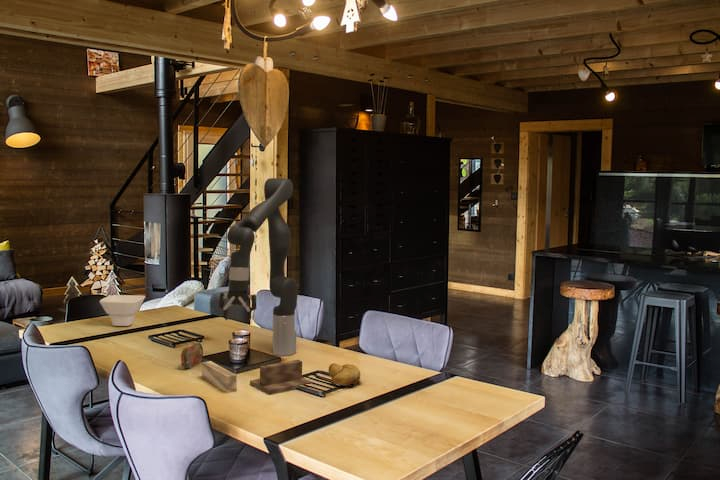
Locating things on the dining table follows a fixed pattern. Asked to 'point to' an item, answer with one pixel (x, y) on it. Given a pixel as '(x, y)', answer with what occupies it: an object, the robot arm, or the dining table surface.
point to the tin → (192, 355)
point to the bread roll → (344, 374)
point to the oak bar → (219, 376)
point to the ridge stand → (280, 377)
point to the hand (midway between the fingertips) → (237, 320)
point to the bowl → (122, 308)
